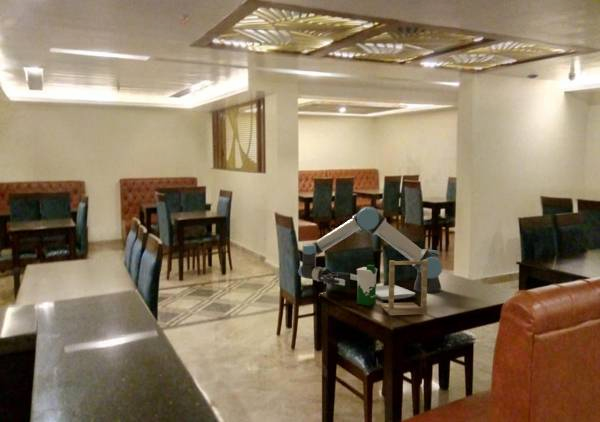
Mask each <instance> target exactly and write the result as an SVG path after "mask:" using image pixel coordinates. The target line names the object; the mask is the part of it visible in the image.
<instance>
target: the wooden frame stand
mask: <svg viewBox="0 0 600 422" xmlns="http://www.w3.org/2000/svg"><path fill="white" fill-rule="evenodd" d="M388 263H389V264H388V268H389V269H388V286H389V300H388V303H386V302H383V303H382V302H381V303H379V306H380V307H381V308H382V309H383V310H384V311H385V312H386V313H387V314H388V315H389V316H402V315H403V316H406V315H407V316H409V315H427V314H428V308H427V295H428V293H427V266H428V260H422V261H410V260H399V261H398V260H397V261H396V260H393V259H392V260H389V261H388ZM412 264H422V280H421V292H420V306H419V305H418V304H417V303H415V302H395V299H394V285H395V268H396V267H395V266H396V265H397V266H398V265H399V266H401V265H406V266H407V265H412Z"/></svg>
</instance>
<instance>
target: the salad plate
mask: <svg viewBox="0 0 600 422" xmlns="http://www.w3.org/2000/svg"><path fill="white" fill-rule="evenodd" d="M415 295H416V292H414V291H411V290H409V289H406V288H405V287H401V286H398V285H396V284H394V300H400V299H407V298H410V297H414V296H415ZM379 298H380V299H379ZM376 299H379V300H382V301H389V285H378V286H377V285H376Z"/></svg>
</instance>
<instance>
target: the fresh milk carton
mask: <svg viewBox="0 0 600 422" xmlns="http://www.w3.org/2000/svg"><path fill="white" fill-rule="evenodd" d="M377 272H378V268H376V267H375V264H367V265H366V266H363V267H359V268H356V275H357V276H358V280H357V284H356V285H357V289H356V291H357V294H356V304H357V305H363V306H367V307H370V306H372V305H374V304H377V301H376V299H377V297H376V286H377V274H378V273H377Z"/></svg>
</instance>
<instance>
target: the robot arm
mask: <svg viewBox="0 0 600 422" xmlns="http://www.w3.org/2000/svg"><path fill="white" fill-rule="evenodd" d="M359 230H360V231H362V230H366V231H367V232H368V233H370V234H371V235H377V236H378V237H379V238H380V239H382V240H384V241H385V242H386V243H387V244H388V245H390V246H391V247H392V248H393V249H394V250H396V251H397V252H399V253H400V254H401V255H403V256H404V257H405V258H407V260H408V261H422V260H428V266H427V294H434V293H435V294H436V293H440V292H442V285H441V282H440V278H439V276H440V275H441V274H442V272H443V263H442V261H441V260H440V251H439V250H435V249H426V248H423V249H422V248H420V247H419V246H418V245H417V244H415V243H414V242H412V240H410V239H409V238H408V237H407V236H405V235H404V234H402V233H401V232H400V231H399V230H398V229H396V228H395V227H394V226H393V225H391V224H390V223H388V221H387V217H386V216H384V215H382V214H381V213H380V212H379V211H378V210H377V209H376V208H375V207H374V206H371V205H367V206H363V207H362V208H361V209H360V210H359V211H357V213H355V214H354V215H352V218H350V219H348V220H347V221H346V222H344V223H342V224H341V225H339V226H338V227H336V228H334V229H333V230H331V231H330V232H328V233H327V234H325V235H324V236H322V237H321V238H319V239H317V240H316V241H315V242H313V243H304V244H303V245H302V264H300V265H299V268H298V270H297V273H298V275H299V276H300V277H301V278H304V279H309V280H313V281H317V282H322V283H327V284H330V285H332V286H333V285H334V284H335V285H340V286H346V280H347V279H350V280H352V281H357V280H358V276H357V274H353V272H340V271H339V272H338V271H336V272H334V271H331V270H330V268H325V267H321V266H316V265H317V261H316V260H317V256H319V255H321V254H322V253H324V252H325V251H326V250H329V249H330V248H332V247H333V246H334V245H336V244H339V243H340V242H341V241H342V240H345V239H346V238H348V237H349V236H351V235H352V234H355V233H356V232H357V231H359ZM411 265H412V267H413V268H414V269H416V270H417V274H416V275H417V276H416V279H415V280H414V285H413V290H414V291H416V292H420V293H421V280H422V264H411Z"/></svg>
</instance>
